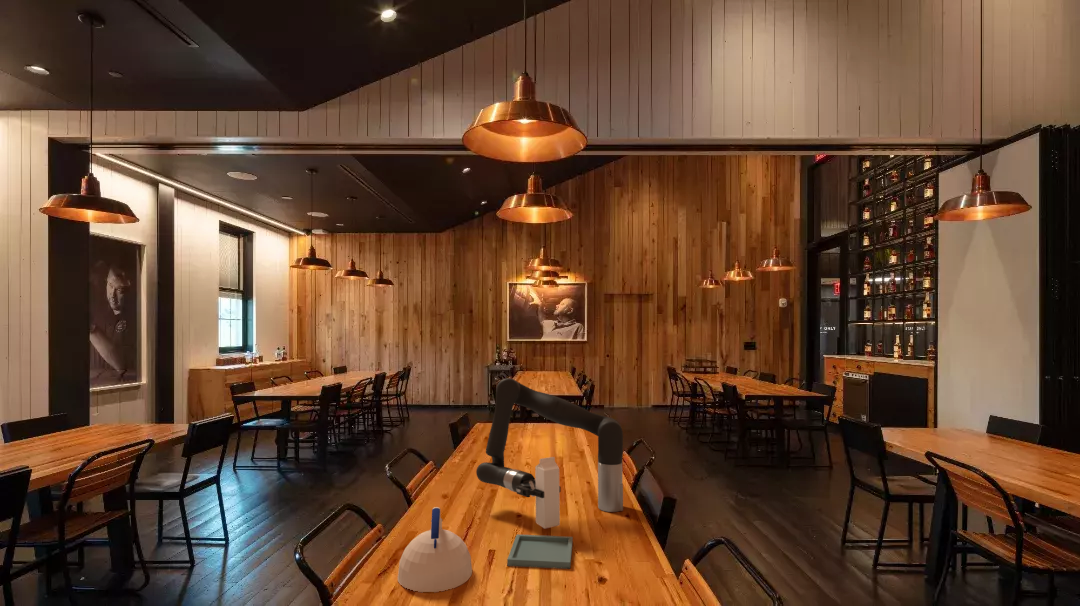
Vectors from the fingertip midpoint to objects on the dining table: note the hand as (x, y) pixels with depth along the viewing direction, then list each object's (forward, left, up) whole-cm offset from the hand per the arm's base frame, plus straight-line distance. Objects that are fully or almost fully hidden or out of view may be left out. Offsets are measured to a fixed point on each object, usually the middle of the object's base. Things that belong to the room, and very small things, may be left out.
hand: (551, 492), depth 171 cm
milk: (+2, -1, -11) cm, 11 cm away
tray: (+2, +16, -13) cm, 21 cm away
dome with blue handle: (+30, +32, -14) cm, 46 cm away
